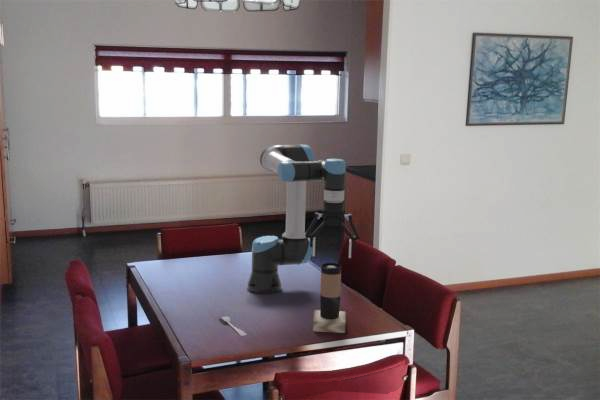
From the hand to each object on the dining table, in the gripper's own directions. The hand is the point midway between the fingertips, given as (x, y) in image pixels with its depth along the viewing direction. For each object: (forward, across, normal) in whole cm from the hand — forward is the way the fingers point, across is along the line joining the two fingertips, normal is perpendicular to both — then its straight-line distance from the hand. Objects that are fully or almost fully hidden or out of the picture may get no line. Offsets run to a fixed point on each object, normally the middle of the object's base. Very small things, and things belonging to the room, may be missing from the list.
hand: (331, 256), depth 238 cm
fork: (+28, -37, -6) cm, 47 cm away
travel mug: (+24, 0, 0) cm, 24 cm away
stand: (+28, 0, 0) cm, 28 cm away
